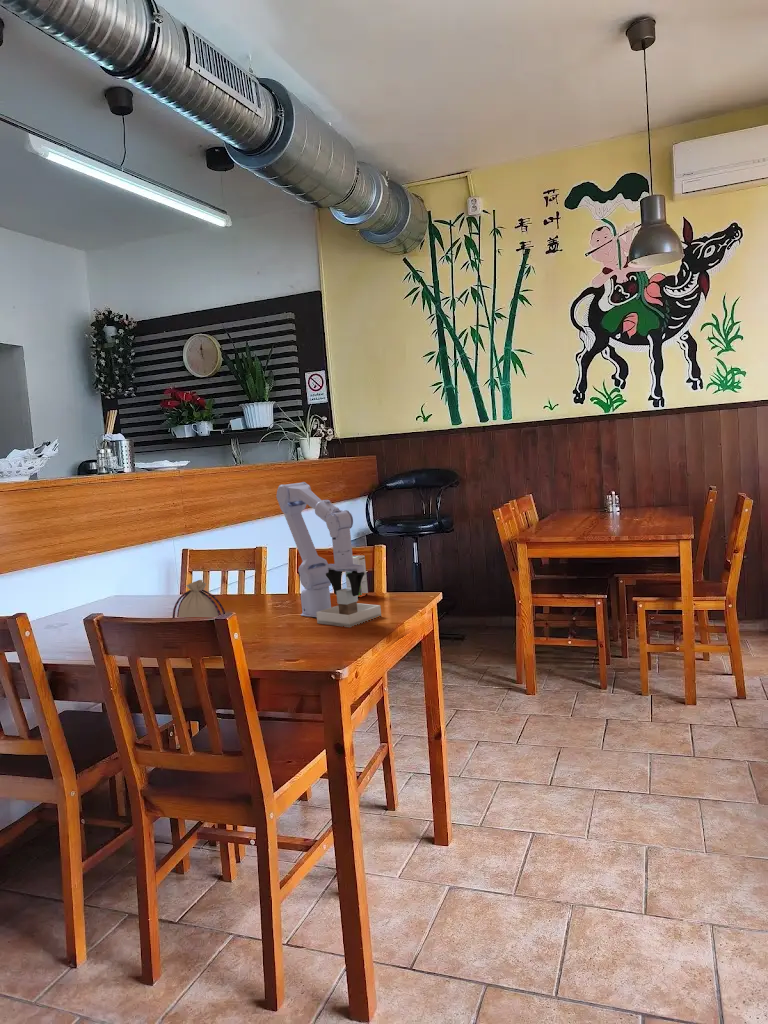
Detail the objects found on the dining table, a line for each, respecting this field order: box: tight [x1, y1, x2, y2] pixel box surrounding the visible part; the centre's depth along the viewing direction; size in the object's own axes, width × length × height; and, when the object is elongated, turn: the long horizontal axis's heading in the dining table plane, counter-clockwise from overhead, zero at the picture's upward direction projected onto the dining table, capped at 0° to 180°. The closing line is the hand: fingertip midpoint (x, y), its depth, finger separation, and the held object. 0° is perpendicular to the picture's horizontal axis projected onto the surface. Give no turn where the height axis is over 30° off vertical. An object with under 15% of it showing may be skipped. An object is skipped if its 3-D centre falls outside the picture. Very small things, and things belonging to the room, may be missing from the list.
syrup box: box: [344, 555, 369, 596], centre depth 261 cm, size 6×6×14 cm
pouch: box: [172, 579, 226, 619], centre depth 208 cm, size 25×8×19 cm, turn 73°
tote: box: [316, 603, 382, 628], centre depth 225 cm, size 14×14×4 cm
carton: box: [336, 587, 359, 605], centre depth 225 cm, size 4×5×4 cm
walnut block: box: [337, 601, 358, 615], centre depth 225 cm, size 4×4×4 cm
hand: (346, 594), depth 225 cm, fingers open, 7 cm apart
